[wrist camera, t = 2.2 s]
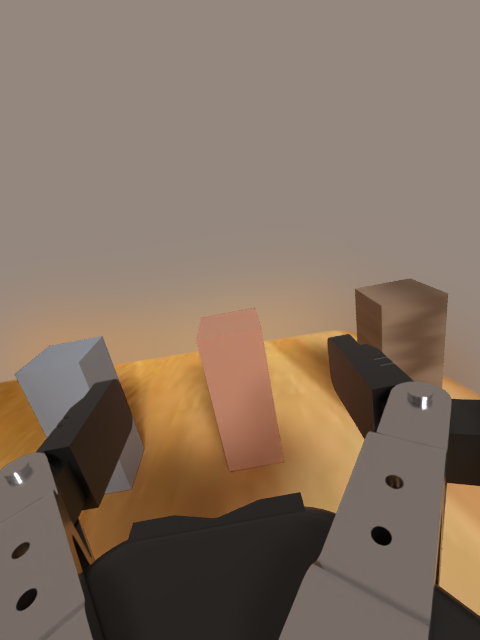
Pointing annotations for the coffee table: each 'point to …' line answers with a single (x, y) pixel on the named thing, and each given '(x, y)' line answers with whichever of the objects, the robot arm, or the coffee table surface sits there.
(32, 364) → the pillar slate
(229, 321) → the pillar terracotta
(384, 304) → the pillar walnut
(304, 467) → the coffee table surface
